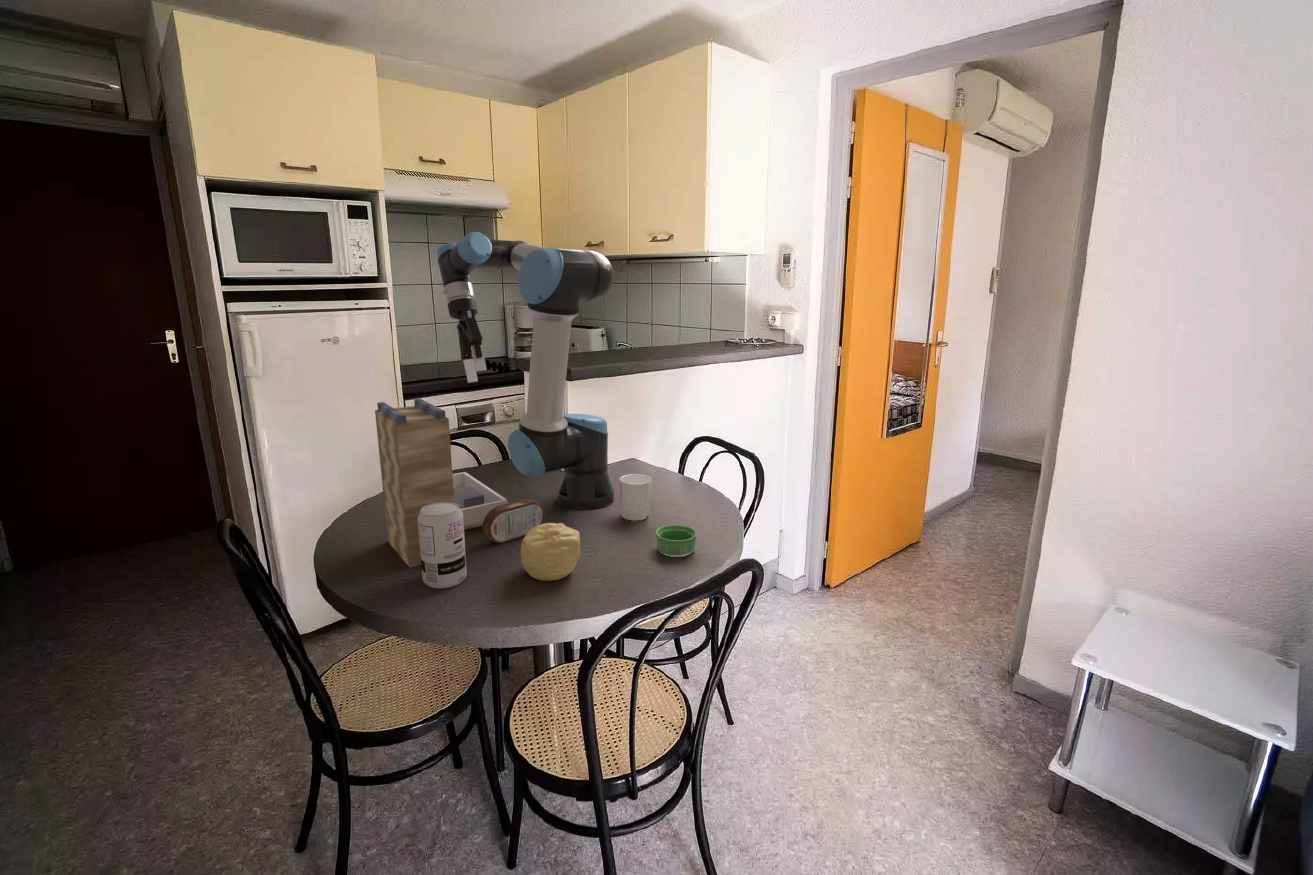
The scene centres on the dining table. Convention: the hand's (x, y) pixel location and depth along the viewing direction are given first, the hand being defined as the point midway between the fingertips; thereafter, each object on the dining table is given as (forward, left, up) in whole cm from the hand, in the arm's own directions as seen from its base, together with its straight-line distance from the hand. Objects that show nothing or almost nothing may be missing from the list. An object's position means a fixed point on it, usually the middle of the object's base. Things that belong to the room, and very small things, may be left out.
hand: (477, 376), depth 168 cm
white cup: (-47, +16, -32) cm, 58 cm away
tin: (-22, +33, -32) cm, 51 cm away
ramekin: (-59, +34, -32) cm, 75 cm away
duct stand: (-4, +42, -31) cm, 53 cm away
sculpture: (-35, +49, -32) cm, 68 cm away
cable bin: (-2, +18, -31) cm, 36 cm away
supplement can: (-15, +55, -32) cm, 65 cm away
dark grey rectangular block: (-1, +18, -30) cm, 35 cm away
